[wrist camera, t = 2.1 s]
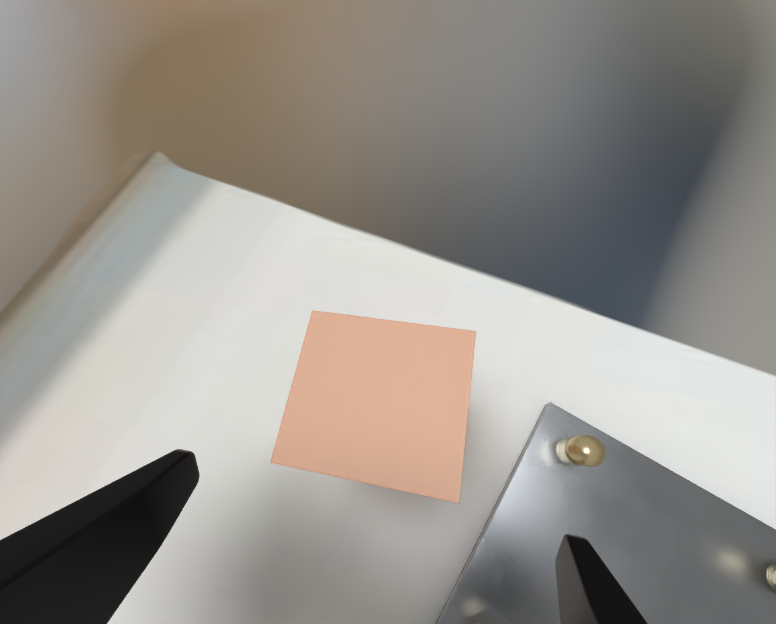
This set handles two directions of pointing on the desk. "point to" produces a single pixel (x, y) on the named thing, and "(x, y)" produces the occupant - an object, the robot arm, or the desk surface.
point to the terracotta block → (380, 404)
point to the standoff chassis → (614, 537)
